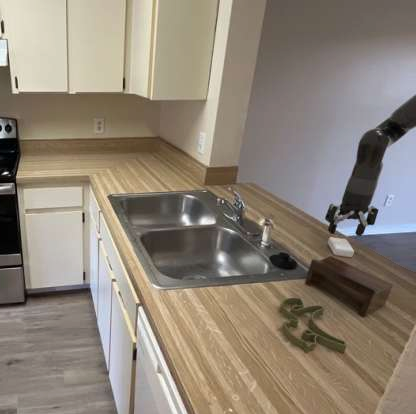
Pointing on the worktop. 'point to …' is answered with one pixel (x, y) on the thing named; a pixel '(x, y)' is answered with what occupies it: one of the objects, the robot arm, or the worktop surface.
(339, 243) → the soap
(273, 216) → the worktop surface
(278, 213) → the worktop surface
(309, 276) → the dark wooden riser
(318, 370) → the worktop surface
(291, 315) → the cookie cutter
